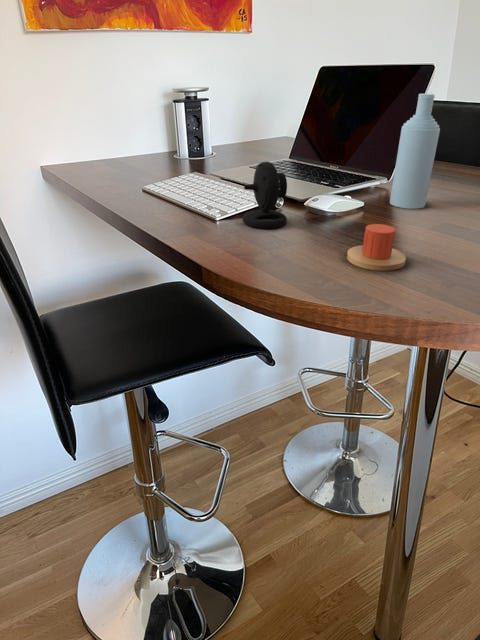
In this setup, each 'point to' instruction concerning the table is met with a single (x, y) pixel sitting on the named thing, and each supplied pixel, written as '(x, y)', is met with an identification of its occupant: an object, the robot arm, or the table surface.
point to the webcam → (266, 197)
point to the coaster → (376, 260)
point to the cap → (378, 241)
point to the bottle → (415, 157)
